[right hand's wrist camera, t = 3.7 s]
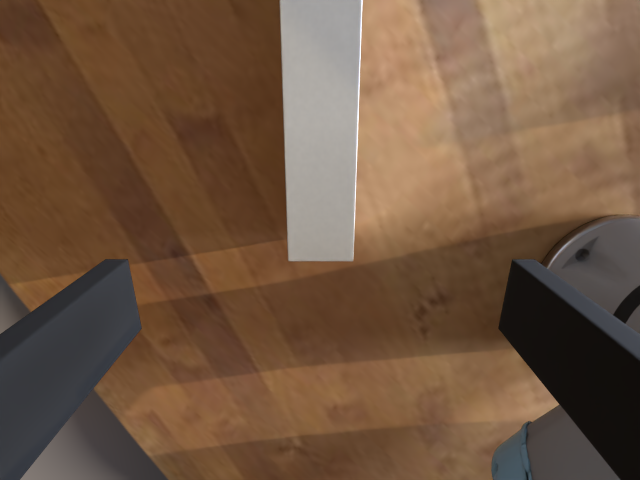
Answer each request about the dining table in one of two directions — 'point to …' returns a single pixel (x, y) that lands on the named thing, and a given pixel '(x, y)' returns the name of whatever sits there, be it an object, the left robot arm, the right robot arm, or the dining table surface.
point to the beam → (320, 125)
